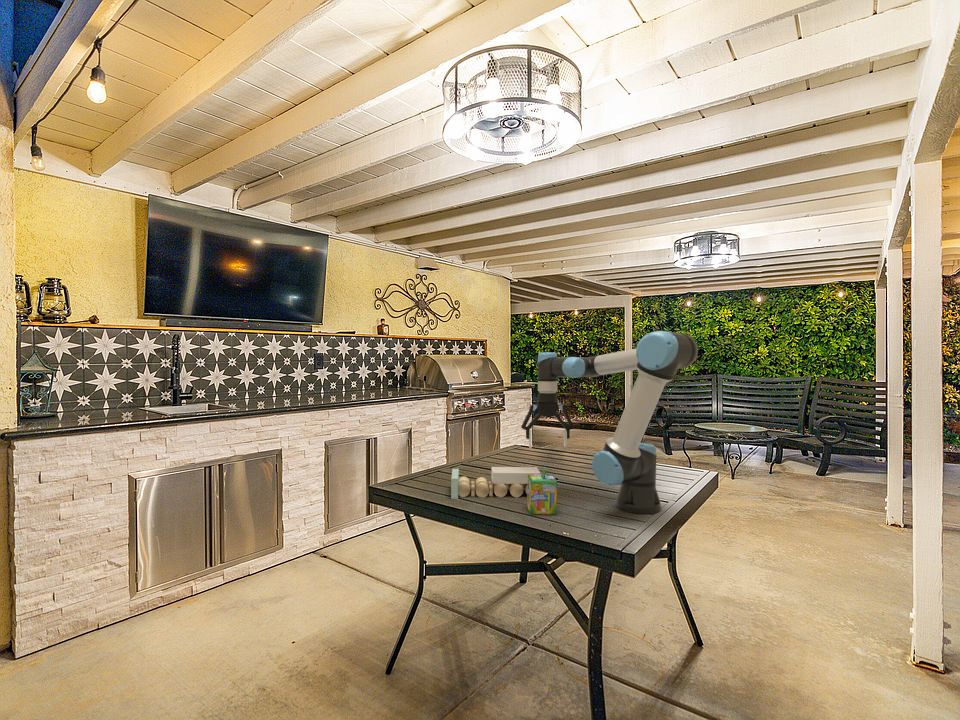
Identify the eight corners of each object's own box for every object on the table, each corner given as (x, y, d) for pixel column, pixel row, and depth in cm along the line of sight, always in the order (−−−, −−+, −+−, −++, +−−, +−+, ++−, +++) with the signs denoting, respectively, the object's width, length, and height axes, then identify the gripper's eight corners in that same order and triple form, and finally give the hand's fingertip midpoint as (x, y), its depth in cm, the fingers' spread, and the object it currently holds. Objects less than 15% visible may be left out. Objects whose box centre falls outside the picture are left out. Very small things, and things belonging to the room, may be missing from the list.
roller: (488, 497, 184) (489, 484, 184) (475, 497, 183) (475, 484, 183) (487, 489, 195) (487, 477, 195) (474, 489, 194) (475, 476, 194)
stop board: (457, 498, 181) (458, 478, 181) (451, 498, 181) (451, 478, 181) (458, 487, 197) (458, 468, 197) (452, 487, 197) (452, 468, 197)
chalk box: (526, 506, 173) (527, 464, 173) (552, 506, 174) (553, 464, 173) (529, 515, 164) (530, 470, 164) (557, 515, 164) (557, 471, 164)
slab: (540, 483, 185) (540, 473, 185) (492, 483, 184) (492, 472, 184) (536, 477, 195) (536, 467, 195) (491, 476, 194) (491, 466, 194)
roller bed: (539, 497, 184) (539, 484, 184) (456, 496, 183) (456, 483, 183) (534, 489, 195) (535, 476, 195) (457, 488, 194) (457, 476, 194)
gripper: (577, 391, 193) (577, 445, 193) (514, 391, 193) (514, 445, 193) (581, 392, 186) (582, 448, 186) (516, 392, 185) (516, 449, 185)
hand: (547, 447), depth 189 cm, fingers open, 13 cm apart
